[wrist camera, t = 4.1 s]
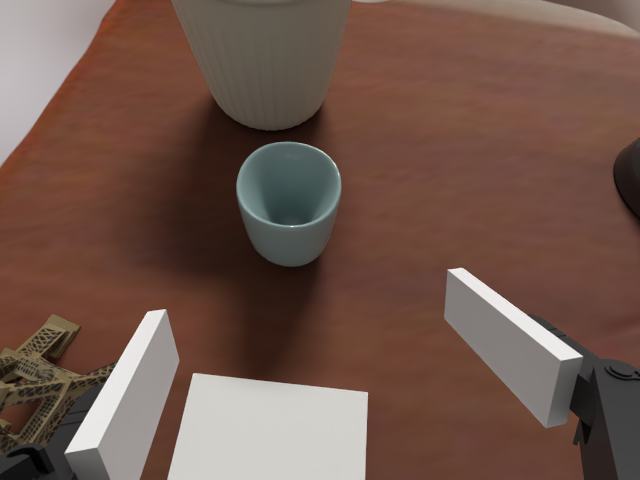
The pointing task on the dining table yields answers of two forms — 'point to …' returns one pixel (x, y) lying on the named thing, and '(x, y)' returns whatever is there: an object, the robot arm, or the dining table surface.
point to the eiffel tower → (42, 383)
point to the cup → (289, 201)
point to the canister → (266, 55)
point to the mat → (269, 432)
